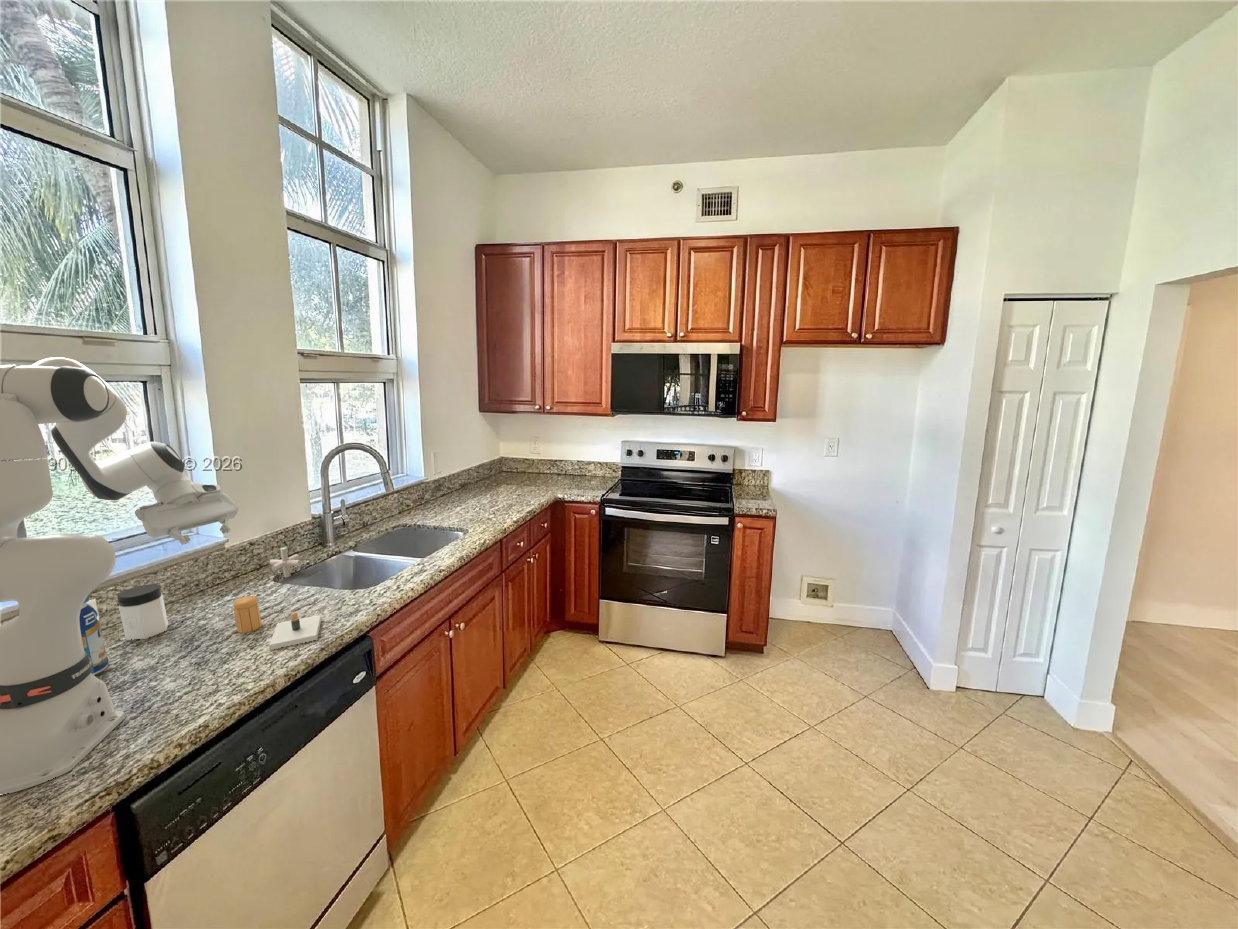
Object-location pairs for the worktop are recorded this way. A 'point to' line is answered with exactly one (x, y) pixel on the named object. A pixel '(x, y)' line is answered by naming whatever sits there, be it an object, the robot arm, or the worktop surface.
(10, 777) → the robot arm
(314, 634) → the board
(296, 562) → the pipe connector
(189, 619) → the worktop surface
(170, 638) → the worktop surface
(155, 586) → the jar
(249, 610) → the fluted domed cylinder
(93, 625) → the beverage bottle
